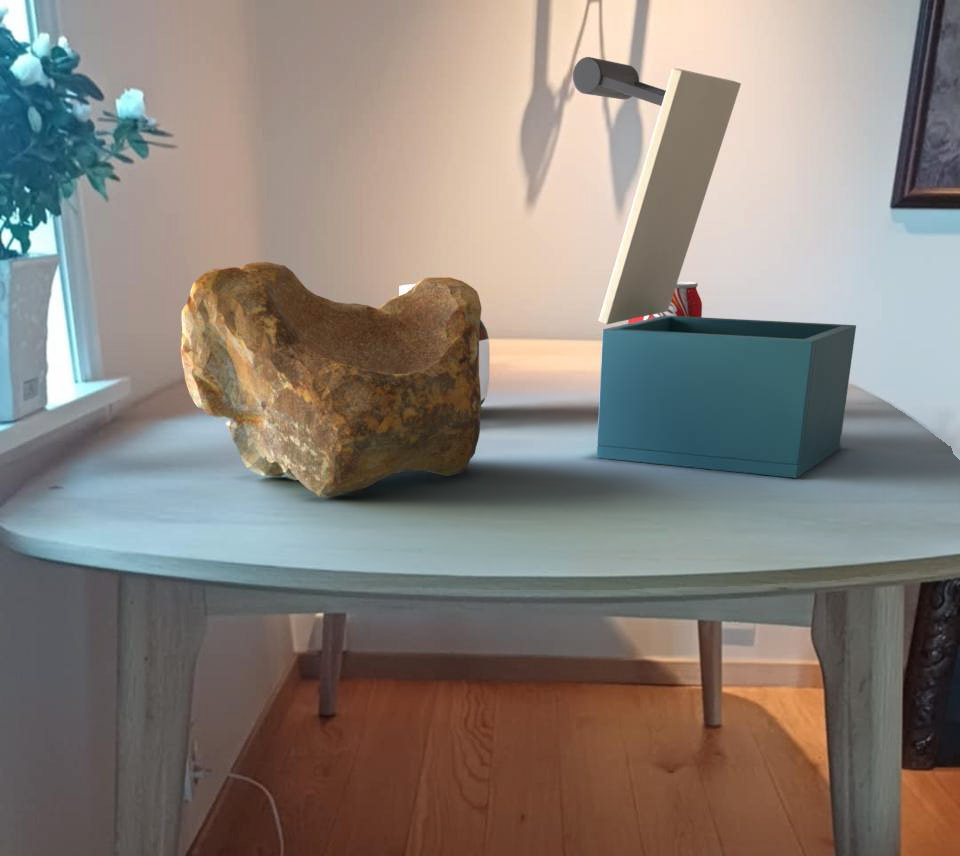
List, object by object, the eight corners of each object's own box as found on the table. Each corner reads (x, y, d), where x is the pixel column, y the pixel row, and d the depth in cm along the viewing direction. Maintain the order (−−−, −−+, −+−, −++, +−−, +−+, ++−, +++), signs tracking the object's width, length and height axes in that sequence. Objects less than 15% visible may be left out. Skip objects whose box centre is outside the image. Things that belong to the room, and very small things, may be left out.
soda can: (618, 418, 123) (625, 284, 117) (627, 407, 129) (635, 279, 123) (690, 421, 121) (701, 285, 116) (697, 410, 127) (707, 280, 122)
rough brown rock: (213, 527, 86) (202, 292, 78) (182, 461, 99) (169, 254, 92) (528, 514, 93) (547, 298, 85) (460, 454, 107) (470, 262, 99)
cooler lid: (741, 83, 101) (635, 48, 103) (682, 70, 90) (565, 32, 92) (668, 311, 111) (572, 274, 113) (606, 324, 100) (503, 284, 102)
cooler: (839, 449, 109) (856, 325, 104) (796, 478, 98) (813, 341, 93) (655, 432, 116) (663, 315, 111) (596, 457, 105) (602, 329, 100)
